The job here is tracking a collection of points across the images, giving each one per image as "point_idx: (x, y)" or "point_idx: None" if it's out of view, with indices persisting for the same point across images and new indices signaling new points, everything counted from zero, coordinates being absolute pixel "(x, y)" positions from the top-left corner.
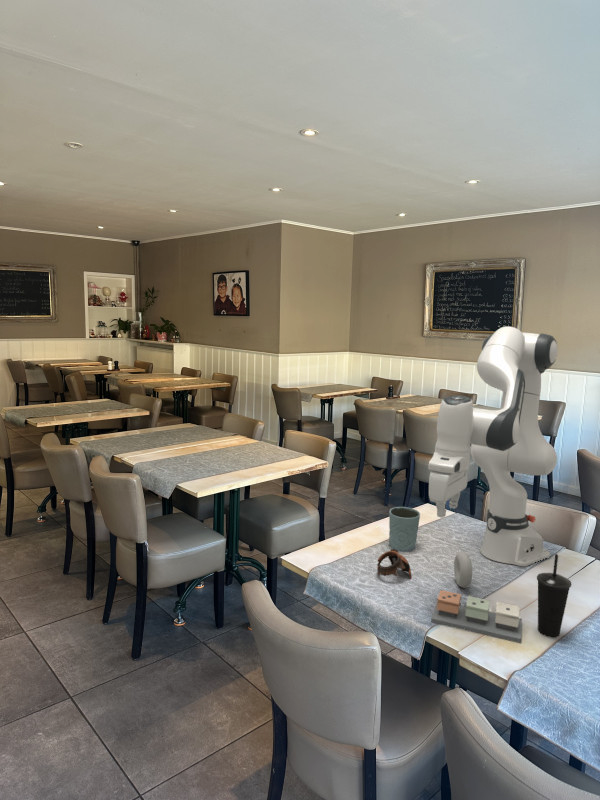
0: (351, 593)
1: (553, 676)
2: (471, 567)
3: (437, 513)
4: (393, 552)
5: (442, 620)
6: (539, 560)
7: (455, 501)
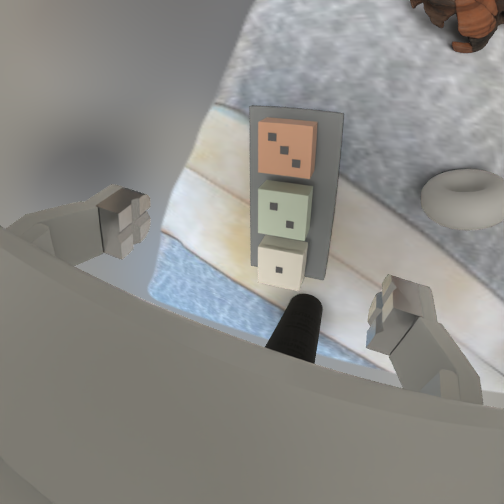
0: None
1: (193, 282)
2: (438, 223)
3: (103, 192)
4: None
5: (251, 130)
6: None
7: (396, 347)
